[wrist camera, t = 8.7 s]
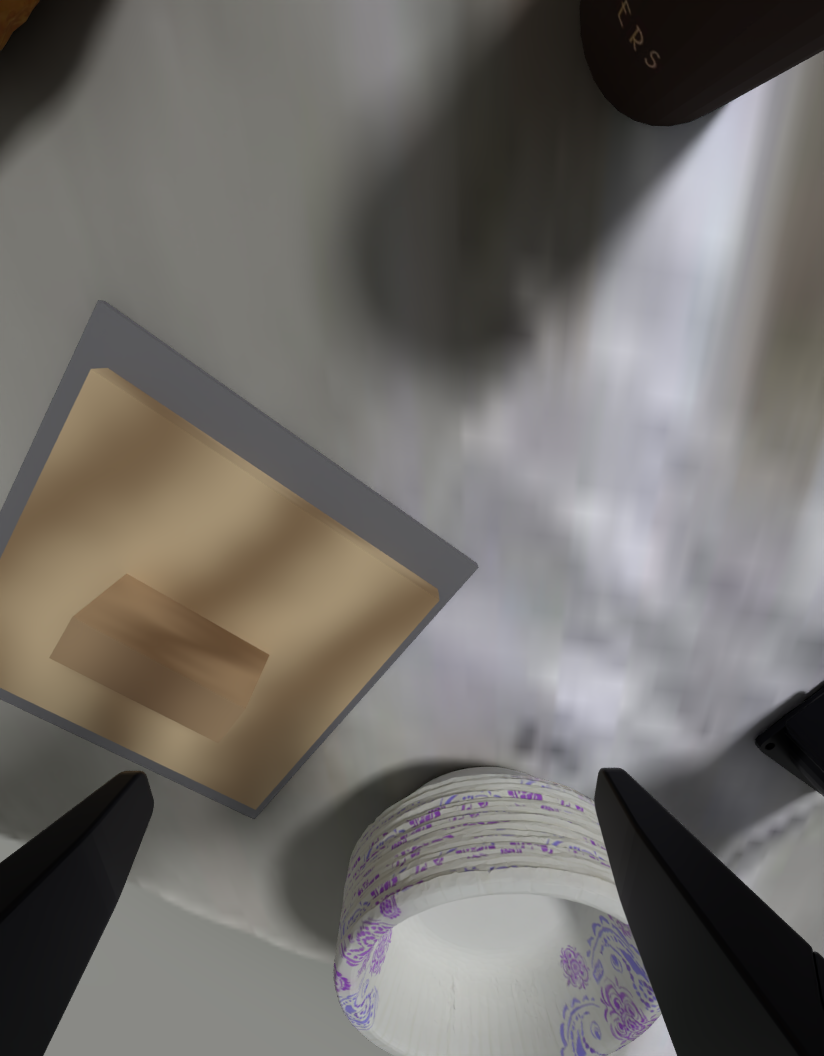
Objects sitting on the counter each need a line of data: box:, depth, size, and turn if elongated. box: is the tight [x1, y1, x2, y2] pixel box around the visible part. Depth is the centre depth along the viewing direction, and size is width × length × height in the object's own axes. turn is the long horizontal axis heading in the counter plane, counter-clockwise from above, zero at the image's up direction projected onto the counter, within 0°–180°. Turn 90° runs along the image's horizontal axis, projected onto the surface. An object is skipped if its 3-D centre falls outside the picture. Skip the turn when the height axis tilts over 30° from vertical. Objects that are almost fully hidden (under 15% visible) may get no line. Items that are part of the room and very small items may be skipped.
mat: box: [0, 300, 478, 819], centre depth 22 cm, size 18×20×1 cm
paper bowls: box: [334, 767, 662, 1056], centre depth 24 cm, size 15×15×8 cm
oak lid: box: [0, 368, 439, 810], centre depth 20 cm, size 16×16×4 cm
